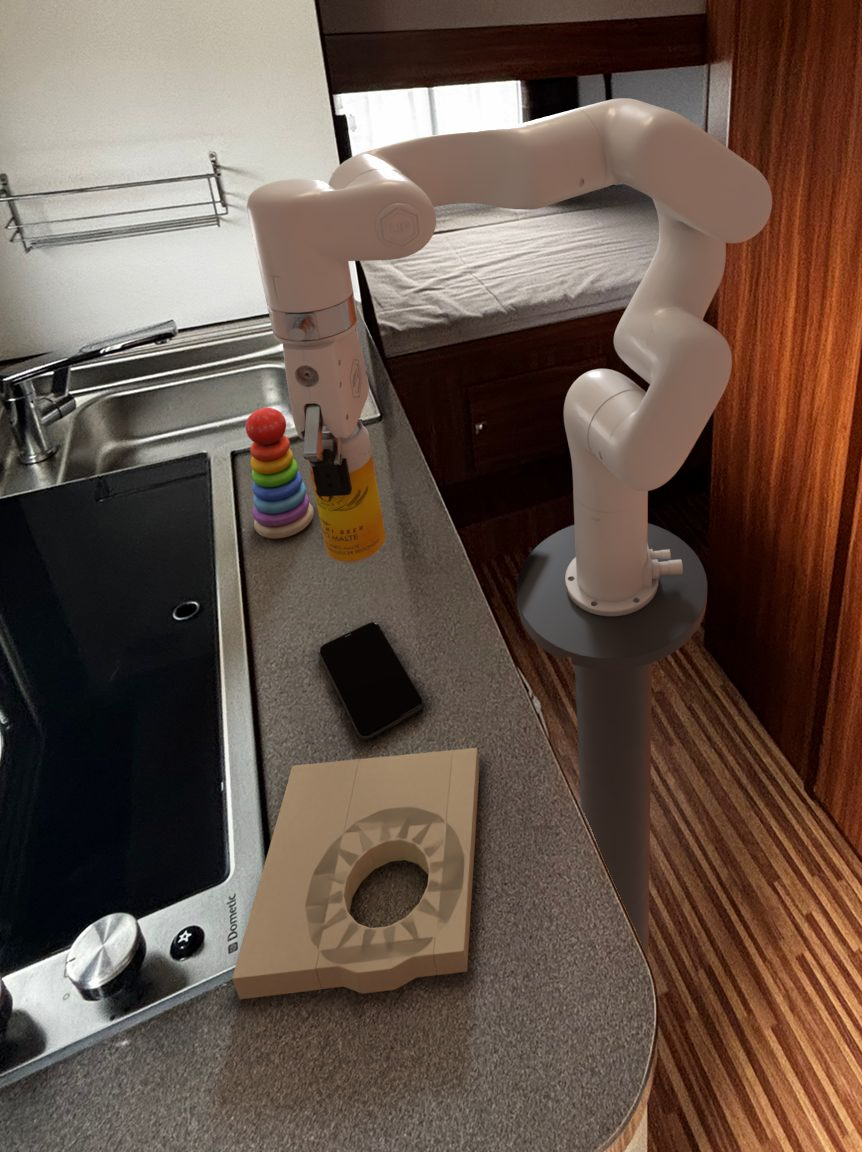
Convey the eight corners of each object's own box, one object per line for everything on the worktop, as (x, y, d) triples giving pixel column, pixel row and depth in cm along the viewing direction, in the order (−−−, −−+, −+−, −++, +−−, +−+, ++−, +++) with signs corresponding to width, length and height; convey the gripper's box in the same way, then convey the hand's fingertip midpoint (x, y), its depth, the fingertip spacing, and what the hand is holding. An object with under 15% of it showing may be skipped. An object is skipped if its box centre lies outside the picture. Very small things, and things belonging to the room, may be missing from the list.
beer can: (315, 561, 85) (289, 442, 79) (349, 524, 91) (327, 409, 84) (365, 573, 84) (343, 452, 77) (397, 534, 89) (378, 418, 83)
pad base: (479, 767, 83) (477, 747, 82) (466, 981, 66) (463, 960, 65) (297, 785, 81) (292, 765, 80) (236, 1009, 64) (228, 988, 63)
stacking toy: (312, 536, 115) (288, 424, 107) (251, 546, 113) (222, 432, 105) (317, 501, 122) (295, 393, 114) (260, 510, 120) (233, 401, 112)
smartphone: (427, 709, 89) (377, 623, 100) (427, 704, 89) (376, 618, 100) (361, 746, 85) (316, 652, 96) (360, 740, 85) (315, 647, 96)
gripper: (332, 357, 68) (362, 527, 75) (373, 276, 83) (395, 424, 91) (239, 360, 67) (280, 532, 75) (299, 279, 83) (327, 427, 91)
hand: (343, 471), depth 83 cm, fingers closed on beer can, 6 cm apart
